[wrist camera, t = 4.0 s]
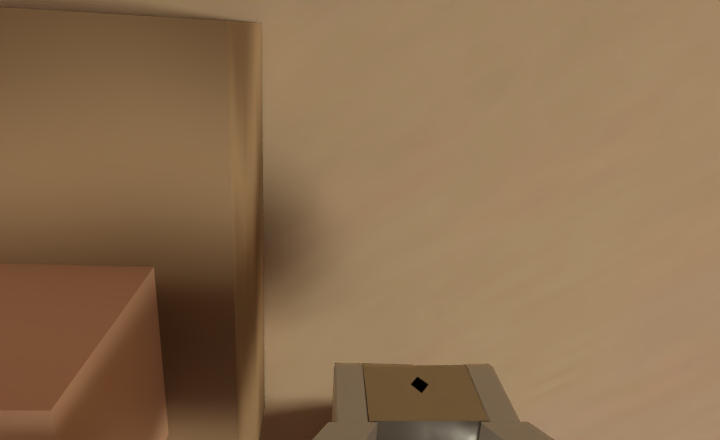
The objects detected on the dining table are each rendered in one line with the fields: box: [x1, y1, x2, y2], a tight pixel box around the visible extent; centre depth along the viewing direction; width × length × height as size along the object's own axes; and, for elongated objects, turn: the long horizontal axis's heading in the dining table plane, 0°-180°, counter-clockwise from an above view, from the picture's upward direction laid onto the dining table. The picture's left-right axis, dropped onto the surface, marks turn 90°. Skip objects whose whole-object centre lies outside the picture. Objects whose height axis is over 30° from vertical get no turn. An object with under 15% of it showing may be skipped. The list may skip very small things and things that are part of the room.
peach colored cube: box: [0, 263, 169, 440], centre depth 9 cm, size 4×4×4 cm
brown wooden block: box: [0, 7, 265, 440], centre depth 13 cm, size 12×11×5 cm
